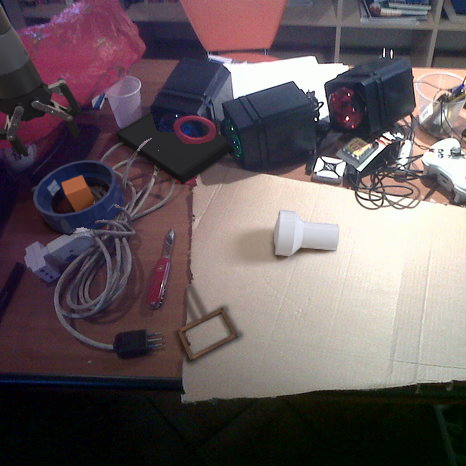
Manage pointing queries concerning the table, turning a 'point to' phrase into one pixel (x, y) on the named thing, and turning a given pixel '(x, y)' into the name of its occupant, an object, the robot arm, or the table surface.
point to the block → (78, 193)
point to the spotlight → (302, 234)
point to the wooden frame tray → (214, 346)
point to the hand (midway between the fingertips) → (50, 145)
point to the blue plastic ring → (53, 193)
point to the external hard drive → (173, 149)
